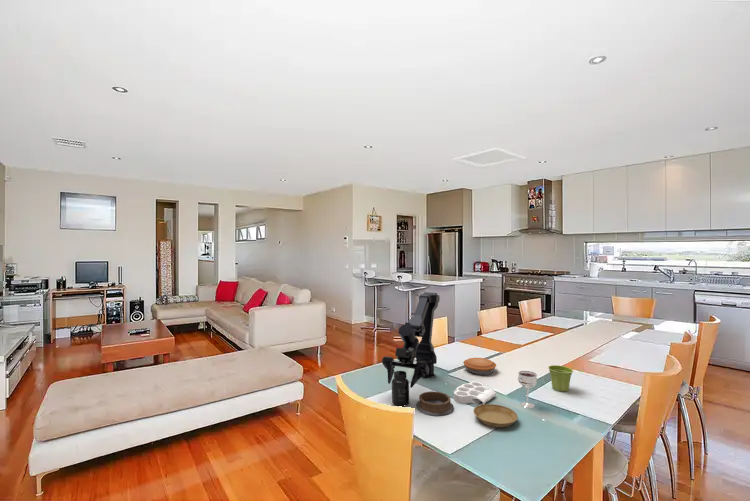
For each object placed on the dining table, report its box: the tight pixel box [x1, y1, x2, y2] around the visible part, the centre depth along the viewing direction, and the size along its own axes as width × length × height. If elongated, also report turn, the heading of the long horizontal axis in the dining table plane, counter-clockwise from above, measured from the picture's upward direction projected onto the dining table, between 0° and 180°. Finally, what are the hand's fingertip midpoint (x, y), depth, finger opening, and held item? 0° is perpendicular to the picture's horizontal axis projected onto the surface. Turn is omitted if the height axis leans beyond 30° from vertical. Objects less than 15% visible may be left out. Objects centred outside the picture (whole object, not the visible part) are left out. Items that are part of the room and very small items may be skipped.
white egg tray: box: [453, 381, 497, 406], centre depth 145 cm, size 3×18×15 cm
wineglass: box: [517, 370, 538, 409], centre depth 137 cm, size 7×7×12 cm
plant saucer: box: [472, 403, 519, 428], centre depth 126 cm, size 15×15×3 cm
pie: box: [462, 357, 497, 376], centre depth 175 cm, size 15×16×5 cm
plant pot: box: [547, 364, 574, 392], centre depth 152 cm, size 9×9×9 cm
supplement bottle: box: [391, 370, 410, 407], centre depth 140 cm, size 7×7×12 cm
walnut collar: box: [415, 390, 455, 417], centre depth 136 cm, size 14×14×4 cm
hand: (399, 385), depth 139 cm, fingers open, 9 cm apart
